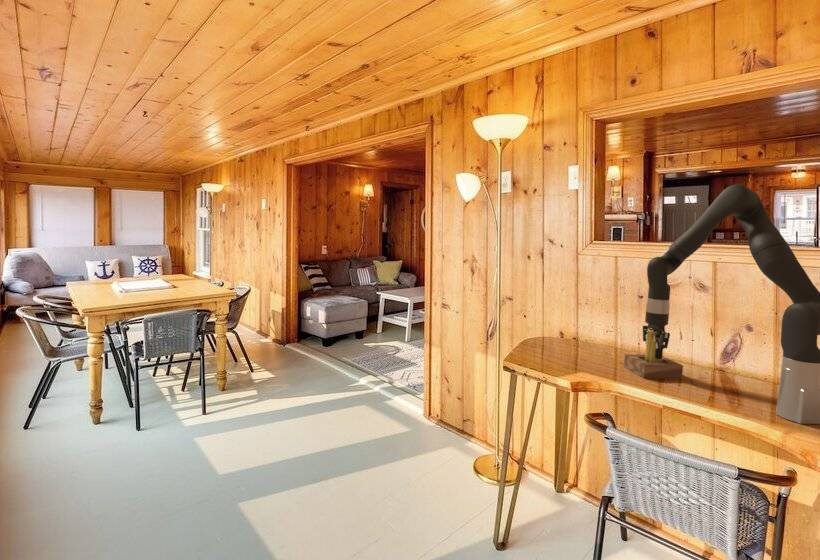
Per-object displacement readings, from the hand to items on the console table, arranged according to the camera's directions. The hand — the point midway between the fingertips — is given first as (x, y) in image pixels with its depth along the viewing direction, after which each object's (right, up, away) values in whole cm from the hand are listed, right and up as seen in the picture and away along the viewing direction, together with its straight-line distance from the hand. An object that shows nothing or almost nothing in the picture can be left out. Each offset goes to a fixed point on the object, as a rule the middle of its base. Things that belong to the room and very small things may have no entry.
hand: (653, 356), depth 174 cm
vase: (0, -5, 0) cm, 5 cm away
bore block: (0, -6, +1) cm, 6 cm away
